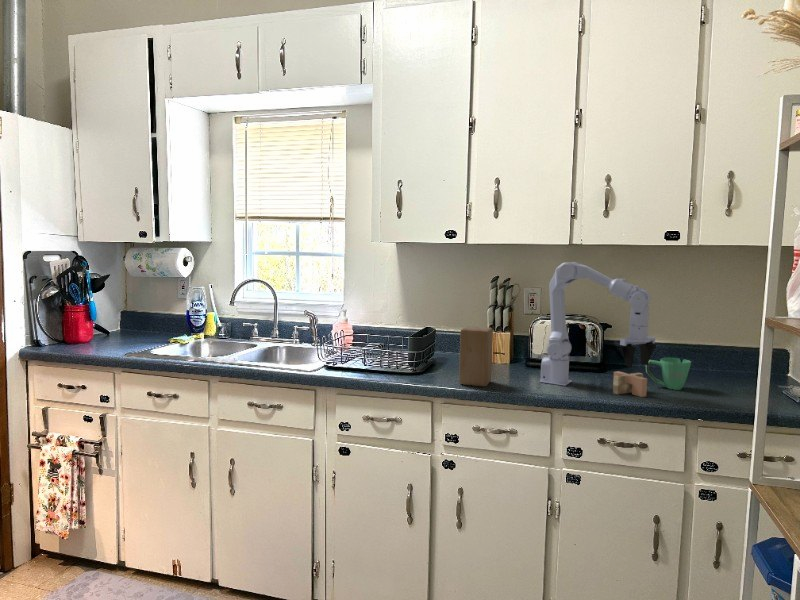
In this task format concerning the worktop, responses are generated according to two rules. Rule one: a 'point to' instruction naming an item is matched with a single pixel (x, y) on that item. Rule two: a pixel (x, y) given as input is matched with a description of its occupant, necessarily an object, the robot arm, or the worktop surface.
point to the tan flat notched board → (635, 383)
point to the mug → (671, 372)
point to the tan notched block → (623, 384)
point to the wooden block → (475, 356)
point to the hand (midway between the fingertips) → (636, 365)
